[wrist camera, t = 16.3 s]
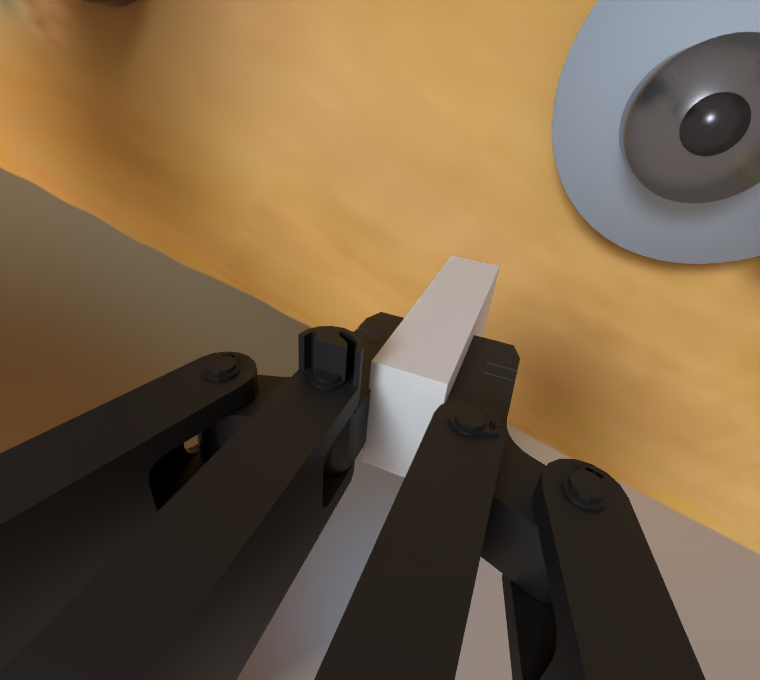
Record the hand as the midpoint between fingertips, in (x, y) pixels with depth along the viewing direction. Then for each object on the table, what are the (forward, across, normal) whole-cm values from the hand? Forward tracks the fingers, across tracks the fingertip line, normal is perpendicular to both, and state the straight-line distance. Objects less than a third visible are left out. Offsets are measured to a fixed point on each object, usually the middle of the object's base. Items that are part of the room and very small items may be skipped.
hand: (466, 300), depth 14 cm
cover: (+22, +9, +5) cm, 24 cm away
